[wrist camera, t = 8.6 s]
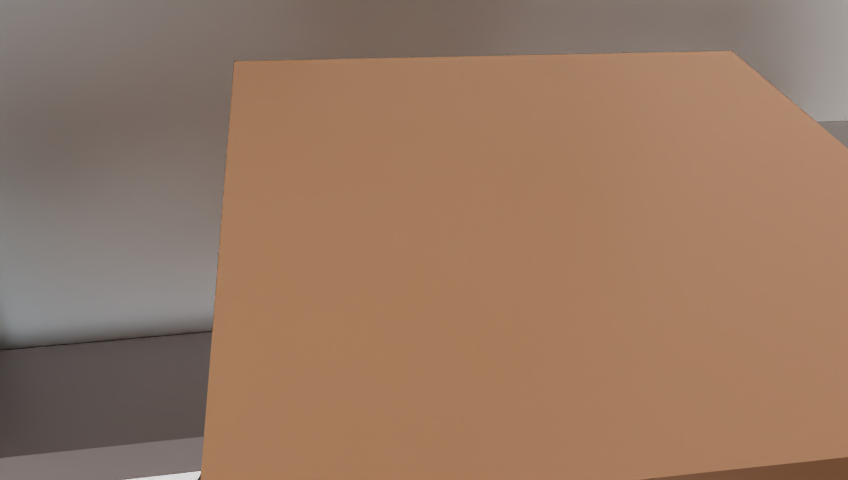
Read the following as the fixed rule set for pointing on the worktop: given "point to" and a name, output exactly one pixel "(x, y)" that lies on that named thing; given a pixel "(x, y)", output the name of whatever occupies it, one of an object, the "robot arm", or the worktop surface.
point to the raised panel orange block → (528, 273)
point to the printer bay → (104, 409)
